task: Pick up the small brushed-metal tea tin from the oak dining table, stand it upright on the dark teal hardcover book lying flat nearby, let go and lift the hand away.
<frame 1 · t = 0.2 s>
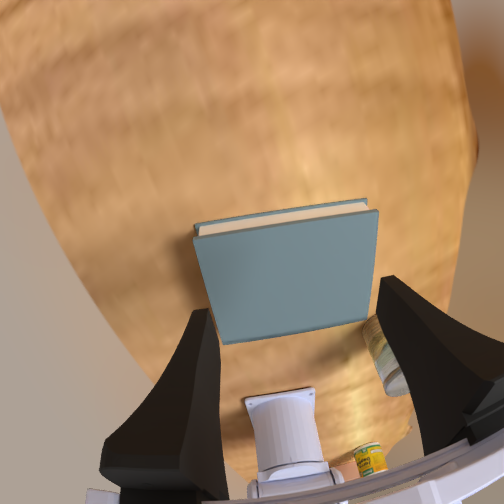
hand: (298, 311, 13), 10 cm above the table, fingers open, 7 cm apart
fruit bowl: (321, 478, 59), on the table
hardcover book: (288, 266, 24), on the table
supplement bottle: (366, 446, 50), on the table
tea tin: (383, 325, 29), on the table
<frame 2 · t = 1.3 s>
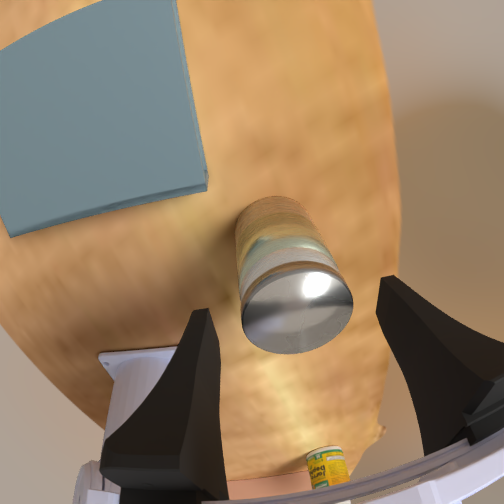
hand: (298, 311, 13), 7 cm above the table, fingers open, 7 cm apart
fruit bowl: (277, 486, 48), on the table
hardcover book: (81, 113, 14), on the table
supplement bottle: (323, 450, 39), on the table
tea tin: (274, 232, 19), on the table
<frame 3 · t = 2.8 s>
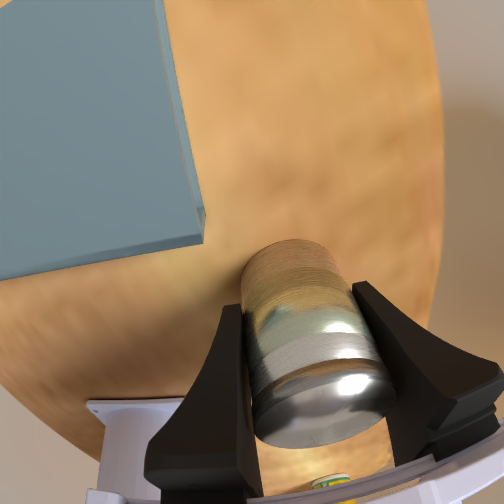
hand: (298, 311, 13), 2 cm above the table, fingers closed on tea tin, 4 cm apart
hardcover book: (37, 131, 10), on the table
supplement bottle: (329, 477, 35), on the table
tea tin: (290, 282, 15), on the table, touching gripper
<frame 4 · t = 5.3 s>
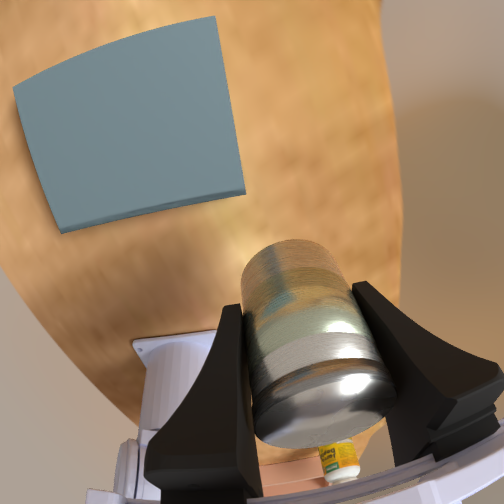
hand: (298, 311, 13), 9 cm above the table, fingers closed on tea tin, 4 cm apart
fruit bowl: (287, 474, 52), on the table
hardcover book: (131, 124, 17), on the table
supplement bottle: (332, 435, 42), on the table
tea tin: (290, 282, 15), point 7 cm above the table, touching gripper
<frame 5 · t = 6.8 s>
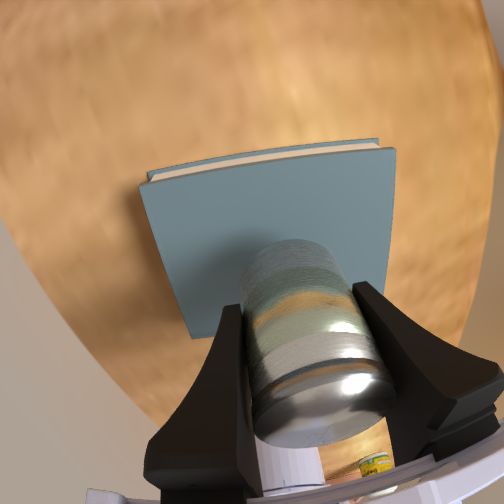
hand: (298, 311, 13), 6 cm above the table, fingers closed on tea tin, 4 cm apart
fruit bowl: (322, 489, 53), on the table
hardcover book: (275, 233, 18), on the table
supplement bottle: (372, 456, 43), on the table
tea tin: (290, 281, 15), point 4 cm above the table, touching gripper
when the fingers open (5 cm above the table, at t = 7.8 s): tea tin drops 1 cm, point 2 cm above the table.
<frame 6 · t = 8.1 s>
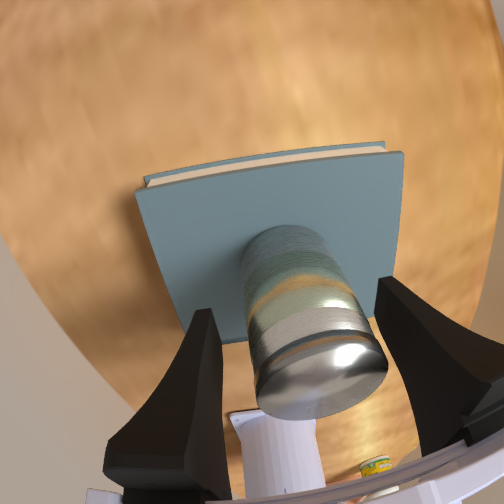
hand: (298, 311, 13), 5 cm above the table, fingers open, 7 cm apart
fruit bowl: (323, 492, 52), on the table
hardcover book: (277, 239, 18), on the table
supplement bottle: (373, 459, 43), on the table
tea tin: (286, 265, 16), point 2 cm above the table
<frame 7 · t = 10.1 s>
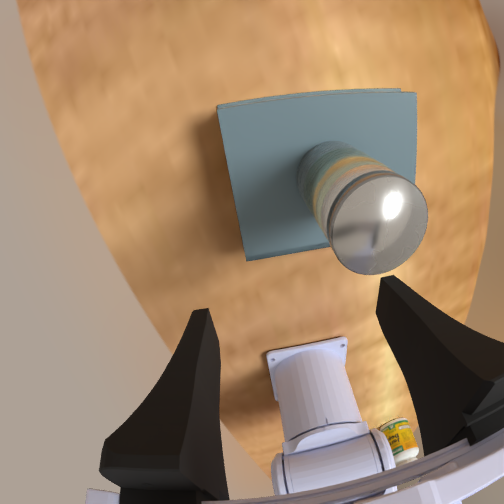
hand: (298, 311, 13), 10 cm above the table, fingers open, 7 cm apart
hardcover book: (321, 164, 21), on the table, touching tea tin
supplement bottle: (392, 423, 46), on the table
tea tin: (332, 177, 19), point 2 cm above the table, touching hardcover book
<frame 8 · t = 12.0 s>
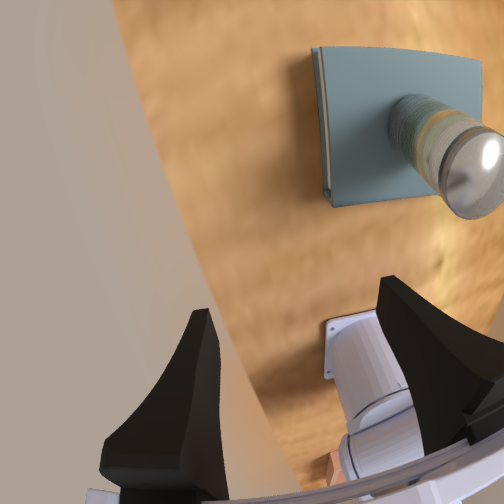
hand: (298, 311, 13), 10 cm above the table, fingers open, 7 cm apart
fruit bowl: (366, 454, 54), on the table
hardcover book: (399, 118, 19), on the table, touching tea tin
tea tin: (418, 127, 17), point 2 cm above the table, tilted 6°, touching hardcover book
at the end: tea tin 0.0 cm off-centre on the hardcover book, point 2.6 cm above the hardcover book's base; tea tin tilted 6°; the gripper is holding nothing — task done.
